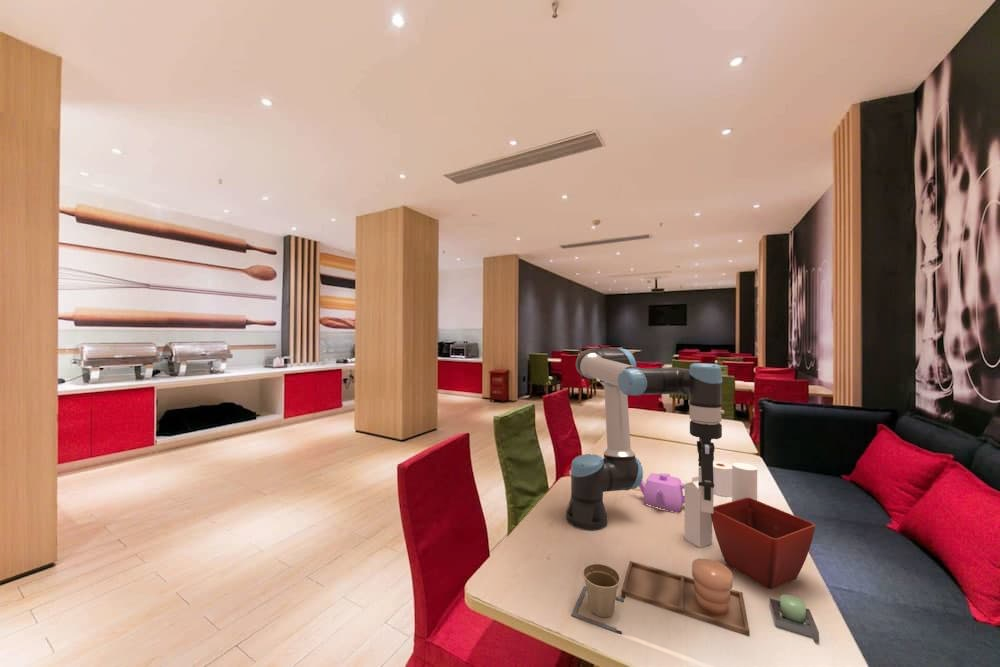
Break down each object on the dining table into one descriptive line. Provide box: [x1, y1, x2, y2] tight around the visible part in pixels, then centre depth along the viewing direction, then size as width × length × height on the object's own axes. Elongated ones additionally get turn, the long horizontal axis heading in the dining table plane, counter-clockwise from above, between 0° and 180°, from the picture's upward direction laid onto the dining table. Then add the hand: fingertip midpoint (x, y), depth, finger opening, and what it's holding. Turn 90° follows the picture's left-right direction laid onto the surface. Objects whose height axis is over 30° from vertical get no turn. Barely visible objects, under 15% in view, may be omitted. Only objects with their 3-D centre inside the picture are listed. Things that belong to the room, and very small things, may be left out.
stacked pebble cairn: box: [691, 558, 734, 615], centre depth 94 cm, size 9×9×9 cm
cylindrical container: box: [731, 462, 758, 502], centre depth 126 cm, size 7×7×25 cm
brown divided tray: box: [620, 560, 751, 637], centre depth 98 cm, size 28×15×2 cm, turn 62°
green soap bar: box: [779, 594, 807, 624], centre depth 89 cm, size 5×5×3 cm
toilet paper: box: [713, 460, 732, 497], centre depth 165 cm, size 10×10×12 cm
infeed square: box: [570, 585, 626, 635], centre depth 94 cm, size 12×12×1 cm
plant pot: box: [711, 498, 816, 590], centre depth 109 cm, size 19×19×17 cm
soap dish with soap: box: [769, 597, 820, 644], centre depth 89 cm, size 8×8×2 cm
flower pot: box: [581, 563, 622, 618], centre depth 94 cm, size 9×9×9 cm
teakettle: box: [638, 472, 686, 513], centre depth 152 cm, size 17×17×12 cm
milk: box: [683, 475, 713, 548], centre depth 125 cm, size 6×6×22 cm
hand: (705, 501), depth 98 cm, fingers open, 13 cm apart
